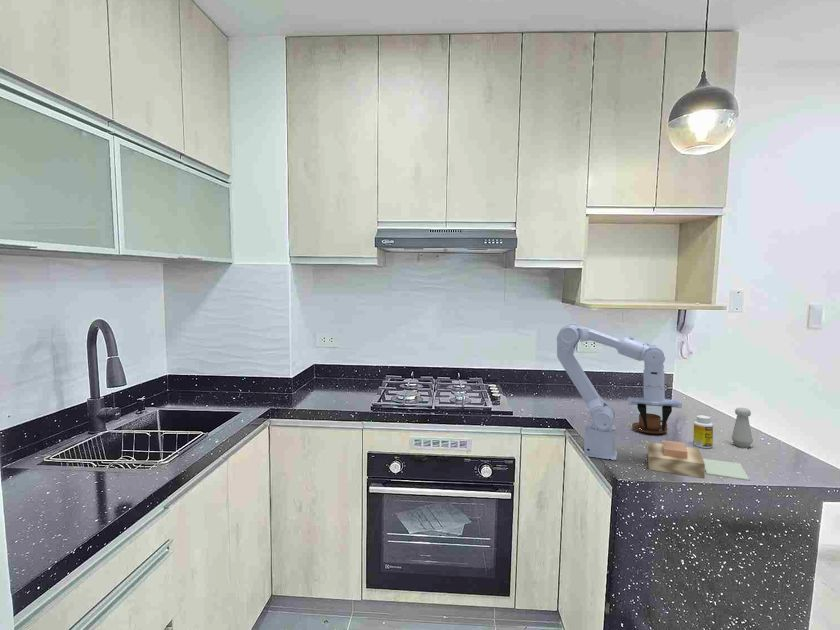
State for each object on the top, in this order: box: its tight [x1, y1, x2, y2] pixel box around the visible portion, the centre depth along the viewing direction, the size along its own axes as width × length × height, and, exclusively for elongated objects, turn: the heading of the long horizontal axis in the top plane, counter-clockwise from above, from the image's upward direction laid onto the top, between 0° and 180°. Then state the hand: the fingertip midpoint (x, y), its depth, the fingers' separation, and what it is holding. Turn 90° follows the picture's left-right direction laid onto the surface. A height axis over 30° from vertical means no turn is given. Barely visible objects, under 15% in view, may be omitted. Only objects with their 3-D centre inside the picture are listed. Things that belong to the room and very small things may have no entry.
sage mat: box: [703, 458, 750, 481], centre depth 130 cm, size 10×13×1 cm
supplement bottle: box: [692, 414, 714, 449], centre depth 150 cm, size 6×6×10 cm
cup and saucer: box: [631, 412, 669, 435], centre depth 167 cm, size 12×12×6 cm
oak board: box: [647, 441, 706, 479], centre depth 133 cm, size 14×14×4 cm
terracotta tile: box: [661, 439, 687, 459], centre depth 133 cm, size 6×9×2 cm, turn 153°
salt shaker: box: [731, 407, 754, 449], centre depth 150 cm, size 6×6×13 cm
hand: (654, 429), depth 135 cm, fingers open, 4 cm apart
